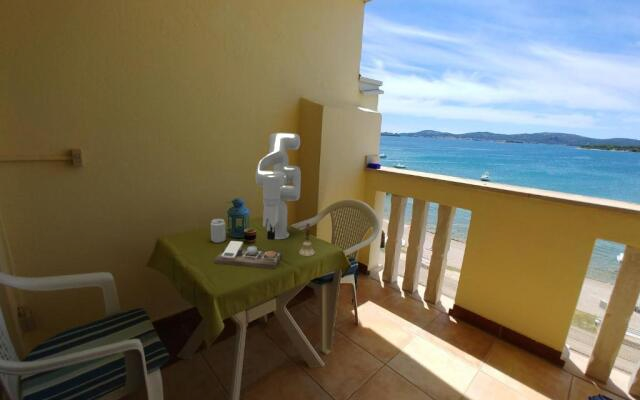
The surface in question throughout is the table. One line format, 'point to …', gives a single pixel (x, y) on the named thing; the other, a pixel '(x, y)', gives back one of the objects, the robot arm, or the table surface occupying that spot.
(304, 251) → the hand bell
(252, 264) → the panel
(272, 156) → the robot arm
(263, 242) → the table surface
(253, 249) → the grey button
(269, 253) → the orange button
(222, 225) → the can
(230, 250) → the rocker
